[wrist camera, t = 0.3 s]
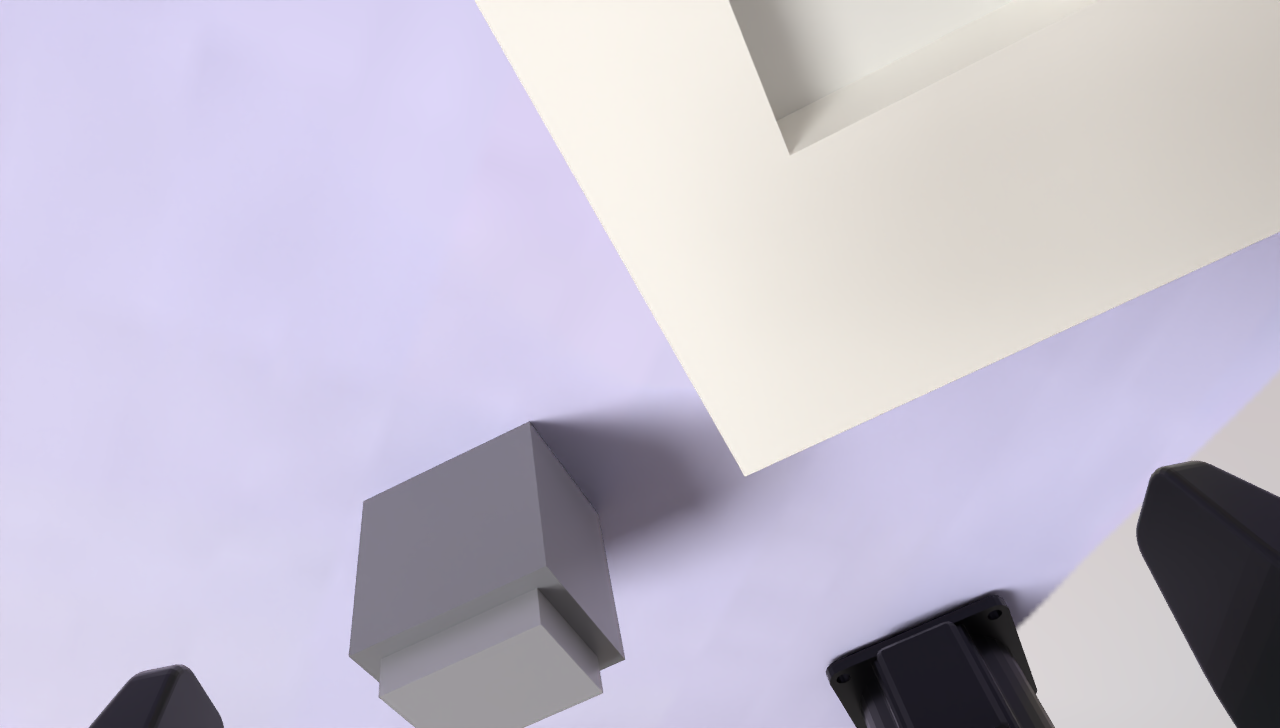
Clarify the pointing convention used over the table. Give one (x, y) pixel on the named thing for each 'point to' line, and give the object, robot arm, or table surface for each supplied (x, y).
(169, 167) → the table surface
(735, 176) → the socket plate
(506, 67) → the table surface
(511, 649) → the plug
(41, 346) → the table surface
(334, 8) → the table surface
